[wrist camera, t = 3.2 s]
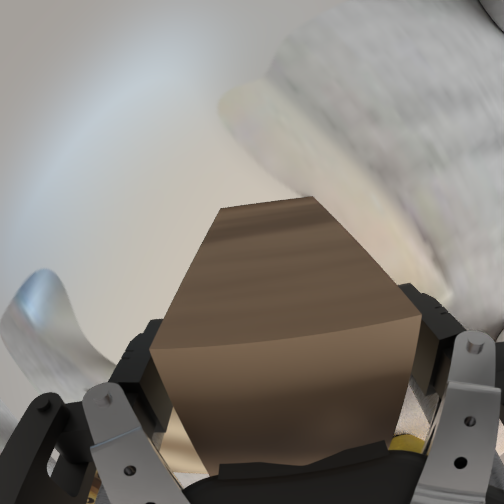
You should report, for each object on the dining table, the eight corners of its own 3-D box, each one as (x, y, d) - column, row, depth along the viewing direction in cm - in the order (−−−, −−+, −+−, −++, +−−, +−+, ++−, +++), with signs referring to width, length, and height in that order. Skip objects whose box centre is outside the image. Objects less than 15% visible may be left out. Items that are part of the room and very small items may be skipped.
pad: (94, 391, 22) (90, 397, 21) (228, 392, 21) (227, 400, 20) (143, 463, 26) (141, 468, 25) (251, 467, 25) (251, 473, 24)
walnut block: (220, 208, 16) (149, 349, 5) (312, 196, 16) (422, 314, 5) (235, 291, 18) (210, 477, 7) (319, 280, 18) (386, 456, 7)
